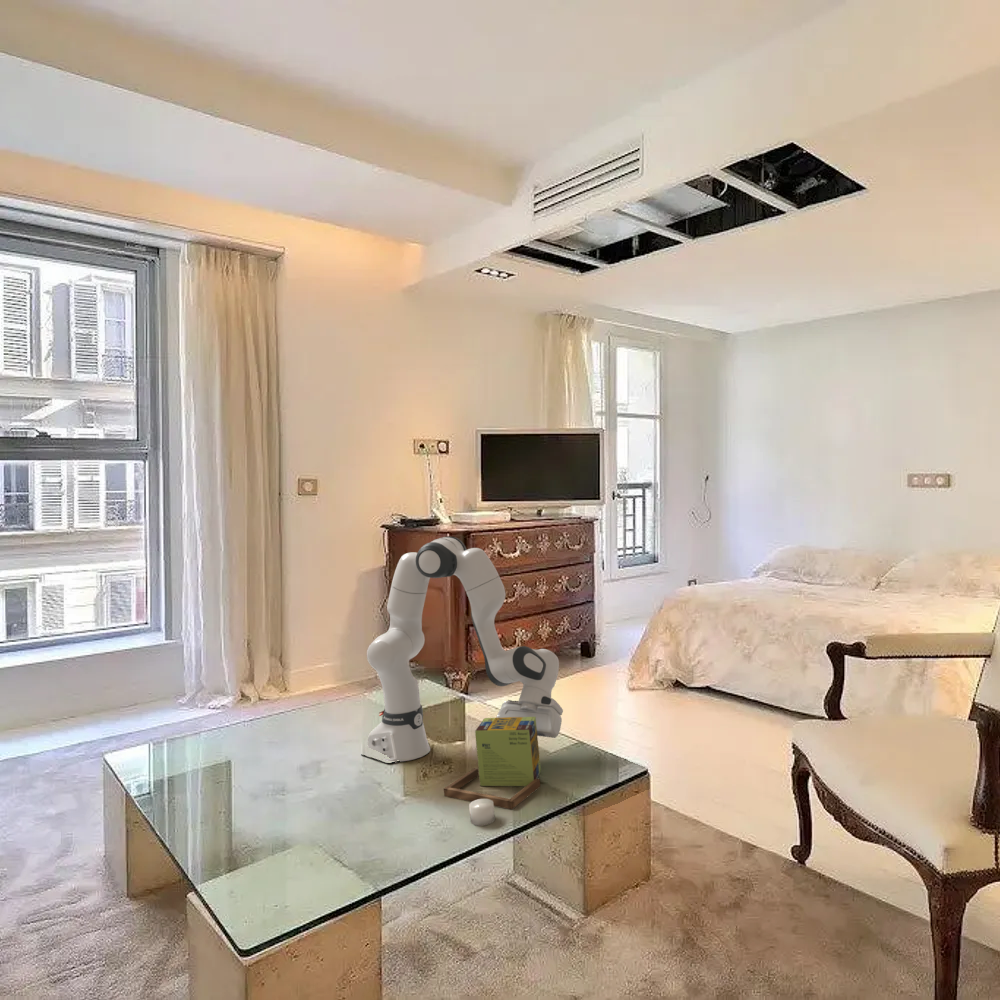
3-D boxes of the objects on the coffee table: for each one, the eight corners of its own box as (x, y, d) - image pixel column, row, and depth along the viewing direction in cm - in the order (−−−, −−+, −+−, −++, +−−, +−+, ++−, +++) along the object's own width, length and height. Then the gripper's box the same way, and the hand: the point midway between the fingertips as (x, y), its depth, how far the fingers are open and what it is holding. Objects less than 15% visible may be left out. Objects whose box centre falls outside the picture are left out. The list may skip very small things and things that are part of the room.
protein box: (535, 786, 196) (529, 729, 196) (479, 786, 200) (473, 730, 199) (541, 770, 206) (536, 716, 206) (488, 770, 210) (483, 717, 209)
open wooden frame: (444, 795, 196) (443, 788, 196) (475, 775, 208) (474, 768, 208) (512, 809, 184) (511, 801, 184) (540, 786, 196) (539, 779, 196)
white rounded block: (465, 823, 179) (464, 807, 179) (479, 812, 184) (478, 797, 184) (485, 827, 176) (484, 811, 176) (499, 816, 181) (498, 801, 181)
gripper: (499, 694, 220) (484, 738, 212) (559, 700, 209) (545, 747, 201) (508, 704, 224) (494, 748, 216) (568, 710, 212) (555, 756, 205)
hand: (519, 747), depth 208 cm, fingers closed
